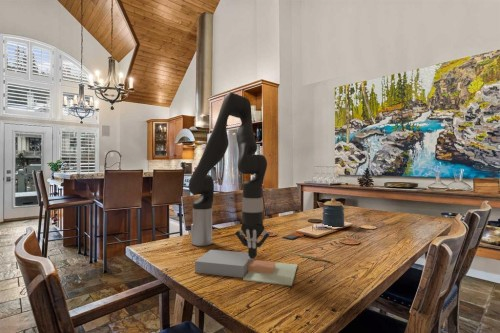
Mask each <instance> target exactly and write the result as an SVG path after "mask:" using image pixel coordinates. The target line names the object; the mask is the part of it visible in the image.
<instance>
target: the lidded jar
mask: <svg viewBox="0 0 500 333" xmlns="http://www.w3.org/2000/svg"><path fill="white" fill-rule="evenodd" d="M323 205H324V206H322V207H321V208H322V213H321V214H322V223H321V224H324V225H328V226H332V227H344V228H345V212H344V210H345V207H344V203H342V202H341V201H336V198H334V197H332V198H331V200H327V201H325V202H323Z"/></svg>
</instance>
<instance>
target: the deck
mask: <svg viewBox="0 0 500 333" xmlns="http://www.w3.org/2000/svg"><path fill="white" fill-rule="evenodd" d="M251 260H255V258H254V259H253V258H250V257H249V255H248V252H243V251H242V252H241V251H231V250H219V249H210V250H208V251H207V252H206V253H204V254H202V255H201V256H200V257H199V258H197V259H195V261H194V273H196V274H197V273H198V274H207V275H215V276H225V277H231V278H232V277H233V278H241V279H243V278H244V277H245V276H246V274H247V273H248V272H249V271H247V265H248V264H249V263H250V262H251Z"/></svg>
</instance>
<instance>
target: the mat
mask: <svg viewBox="0 0 500 333" xmlns="http://www.w3.org/2000/svg"><path fill="white" fill-rule="evenodd" d="M274 262H275V269H274V272H273V274H271V273H261V272H251V271H248V272H247V274H246V275H245V276H244V278H242V280H243V281H245V282H252V283H253V282H255V283H264V284H271V285H280V286H281V285H282V286H289V287H290V286H291V287H292V286H293V282H294V280H295V276H296V272H297V268H298V264H296V263H285V262H276V261H274Z"/></svg>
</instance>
